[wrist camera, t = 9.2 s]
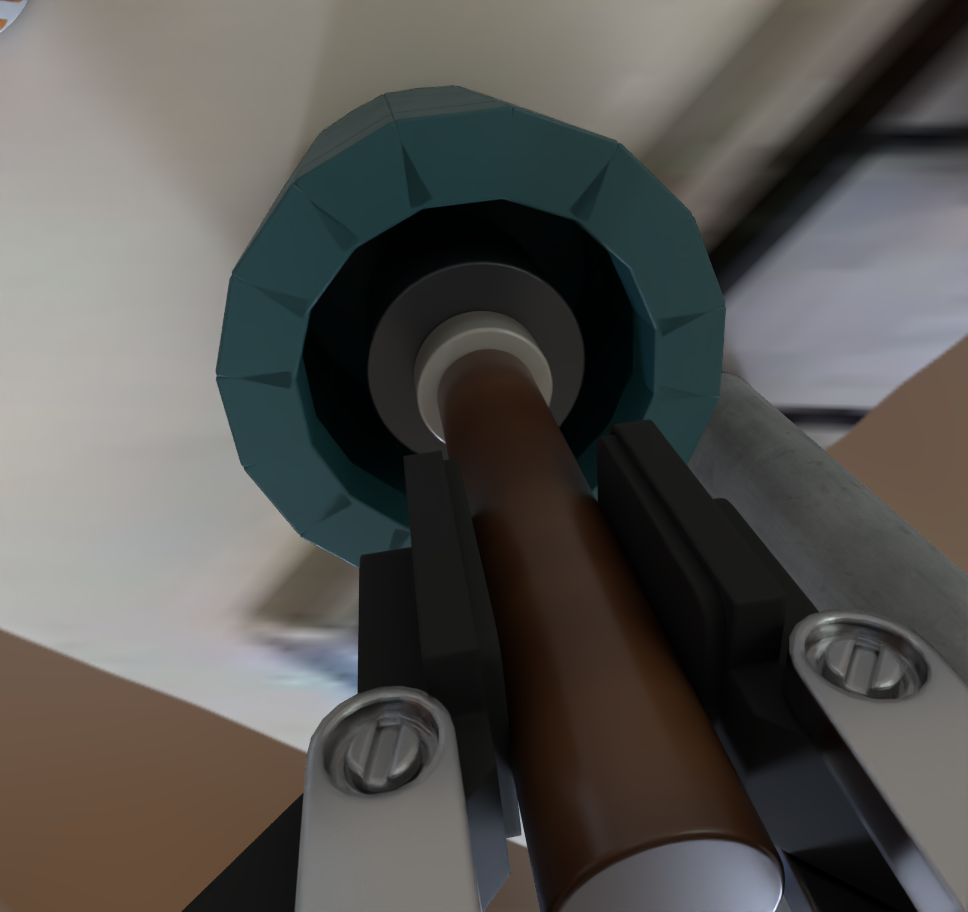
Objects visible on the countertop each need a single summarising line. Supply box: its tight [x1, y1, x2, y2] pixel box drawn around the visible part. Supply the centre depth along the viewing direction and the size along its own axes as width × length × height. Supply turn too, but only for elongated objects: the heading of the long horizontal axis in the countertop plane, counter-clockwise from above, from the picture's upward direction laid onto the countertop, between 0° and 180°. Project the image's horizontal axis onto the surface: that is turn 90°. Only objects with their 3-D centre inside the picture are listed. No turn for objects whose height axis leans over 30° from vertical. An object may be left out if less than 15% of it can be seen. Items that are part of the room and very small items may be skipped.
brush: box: [366, 215, 785, 912], centre depth 13 cm, size 5×5×17 cm
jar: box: [216, 85, 726, 568], centre depth 19 cm, size 10×10×10 cm
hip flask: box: [687, 373, 968, 912], centre depth 22 cm, size 16×4×20 cm, turn 176°
